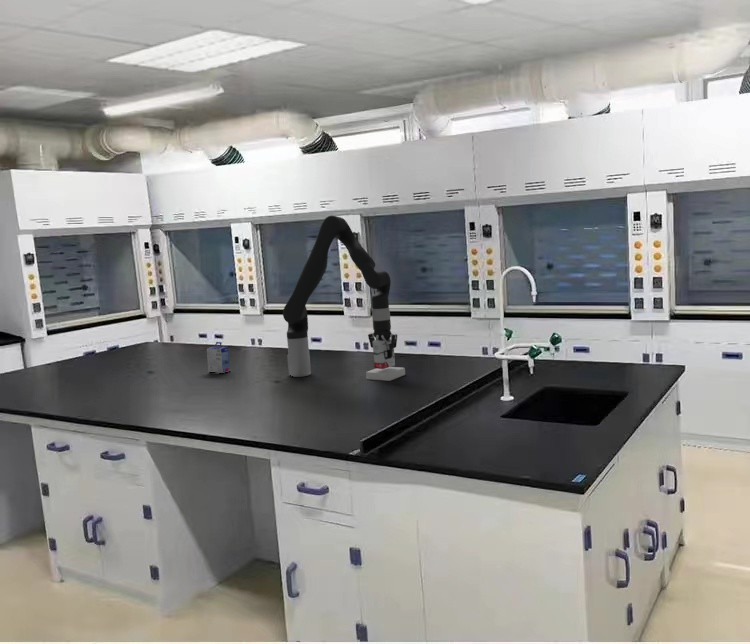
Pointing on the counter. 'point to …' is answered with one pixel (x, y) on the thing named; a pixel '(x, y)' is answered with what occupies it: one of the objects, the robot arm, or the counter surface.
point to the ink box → (382, 355)
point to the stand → (385, 373)
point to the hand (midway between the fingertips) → (384, 357)
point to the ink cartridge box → (218, 358)
